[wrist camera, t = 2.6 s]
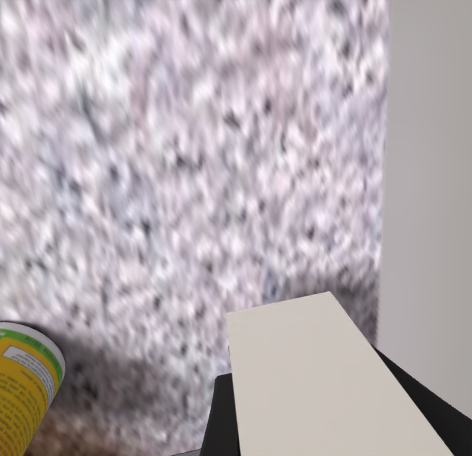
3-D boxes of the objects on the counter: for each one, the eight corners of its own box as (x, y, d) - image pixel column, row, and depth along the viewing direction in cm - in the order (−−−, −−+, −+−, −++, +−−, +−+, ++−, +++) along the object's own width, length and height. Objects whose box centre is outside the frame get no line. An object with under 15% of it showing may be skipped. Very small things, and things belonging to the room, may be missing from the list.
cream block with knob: (334, 369, 12) (480, 644, 6) (242, 390, 12) (286, 697, 6) (330, 291, 11) (518, 542, 4) (225, 313, 10) (257, 607, 4)
